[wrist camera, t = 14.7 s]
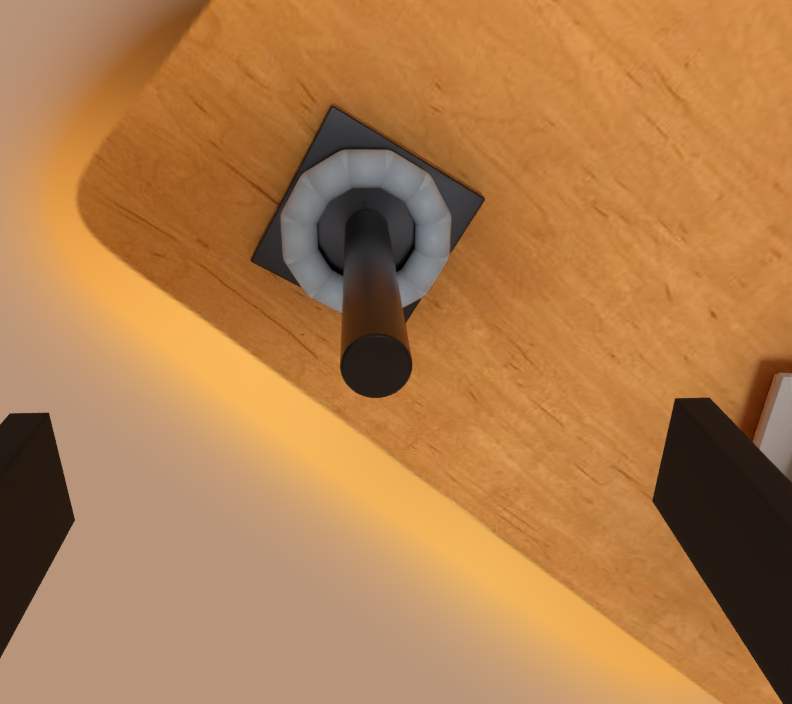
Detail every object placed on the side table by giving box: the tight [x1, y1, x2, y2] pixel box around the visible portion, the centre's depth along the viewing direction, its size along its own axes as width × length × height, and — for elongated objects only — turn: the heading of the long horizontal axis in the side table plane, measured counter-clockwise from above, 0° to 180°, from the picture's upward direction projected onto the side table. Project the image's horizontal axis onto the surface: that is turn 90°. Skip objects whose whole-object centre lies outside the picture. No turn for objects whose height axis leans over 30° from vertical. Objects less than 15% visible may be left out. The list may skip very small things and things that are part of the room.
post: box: [251, 104, 485, 398], centre depth 25 cm, size 8×8×15 cm
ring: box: [281, 149, 451, 314], centre depth 31 cm, size 8×8×2 cm
